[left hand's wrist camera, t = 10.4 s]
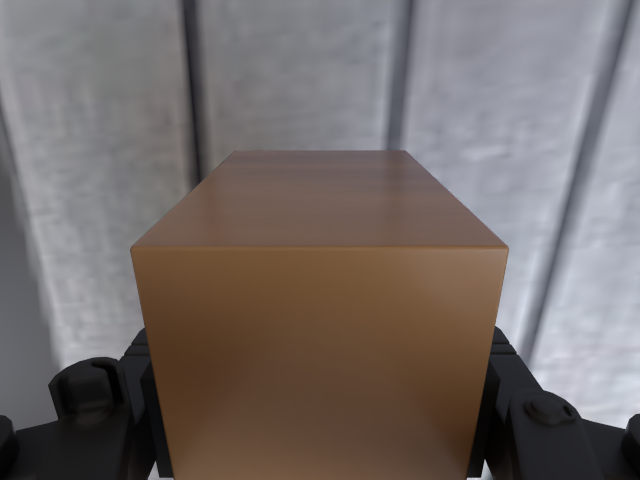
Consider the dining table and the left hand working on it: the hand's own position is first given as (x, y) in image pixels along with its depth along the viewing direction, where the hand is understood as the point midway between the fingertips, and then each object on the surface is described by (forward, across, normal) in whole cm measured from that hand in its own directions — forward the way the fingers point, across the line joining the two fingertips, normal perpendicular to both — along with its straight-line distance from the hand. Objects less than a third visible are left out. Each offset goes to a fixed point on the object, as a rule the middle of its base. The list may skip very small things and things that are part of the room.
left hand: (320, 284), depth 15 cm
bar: (+1, 0, -23) cm, 23 cm away
